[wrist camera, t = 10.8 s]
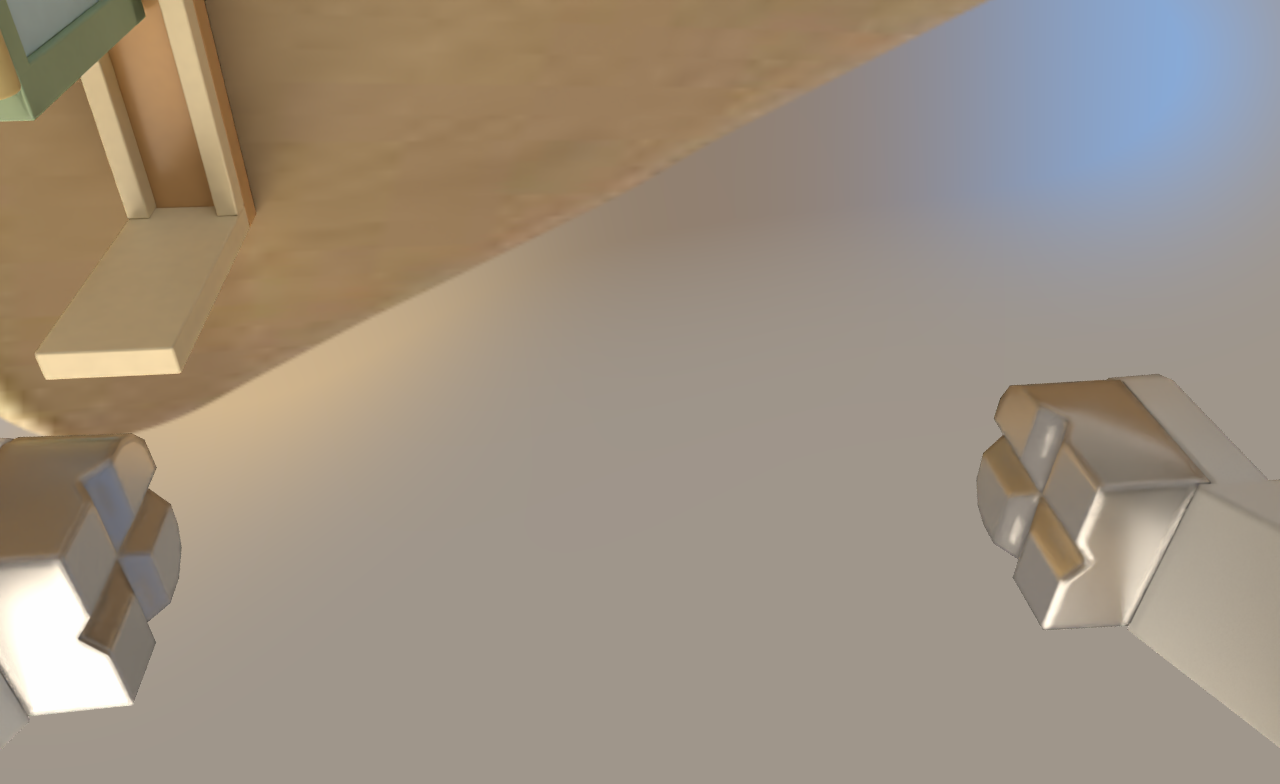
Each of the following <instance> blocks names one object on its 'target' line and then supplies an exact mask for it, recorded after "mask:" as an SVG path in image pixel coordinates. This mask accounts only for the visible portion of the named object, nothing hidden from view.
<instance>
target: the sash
mask: <svg viewBox="0 0 1280 784" xmlns="http://www.w3.org/2000/svg"><path fill="white" fill-rule="evenodd" d="M145 17H146V15H145V11H144V8H143V4H142V1H141V0H0V121H34V120H35V119H36V118H38V117H39V116H40V115H41V114H42V113H43V112H44V111H45V110H46V109H47V108H48V107H49V106H50V105H51V104H52V103H53V102H54V101H55V100H56V99H58V98H59V97H60V96H61V95H62V94H63V93H64V92H65V91H66V90H67V89H68V88H69V87H70V86H72V85H73V84H74V83H75V82H76V81H77V80H78V79H79V78H80V77H81V76H82V75H83V74H84V73H86V72H87V71H88V70H89V69H90V68H91V67H92V66H93V65H94V64H95V63H96V62H97V61H98V60H100V59H101V58H102V57H103V56H104V55H105V54H106V53H107V52H108V51H109V50H110V49H111V48H112V47H114V46H115V45H116V44H117V43H118V42H119V41H120V40H121V39H122V38H123V37H124V36H125V35H126V34H128V33H129V32H130V31H131V30H132V29H133V28H134V27H135V26H136V25H138V24H139V23H140V22H141V21H142V20H143V19H144V18H145Z"/></svg>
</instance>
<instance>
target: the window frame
mask: <svg viewBox="0 0 1280 784" xmlns="http://www.w3.org/2000/svg"><path fill="white" fill-rule="evenodd" d="M141 1H142V4H143V8H144V11H145V15H146V17H145V18H144V19H143V20H142V21H141V22H140V23H139V24H138V25H136V26H135V27H134V28H133V29H132V30H131V31H130V32H129V33H128V34H126V35H125V36H124V37H123V38H122V39H121V40H120V41H119V42H118V43H117V44H116V45H115V46H114V47H112V48H111V49H110V50H109V51H108V52H107V53H106V54H105V55H104V56H103V57H102V58H101V59H100V60H98V61H97V62H96V63H95V64H94V65H93V66H92V67H91V68H90V69H89V70H88V71H87V72H86V73H84V74H83V75H82V76H81V77H80V78H81V81H82V84H83V87H84V90H85V93H86V96H87V99H88V102H89V104H90V107H91V110H92V113H93V116H94V119H95V122H96V125H97V128H98V131H99V134H100V137H101V140H102V143H103V146H104V149H105V152H106V155H107V158H108V161H109V164H110V167H111V170H112V173H113V176H114V179H115V182H116V185H117V188H118V191H119V194H120V197H121V200H122V203H123V206H124V209H125V212H126V215H127V218H128V219H129V220H128V221H127V223H126V224H125V226H124V227H123V229H122V230H121V231H120V233H119V234H118V236H117V237H116V238H115V240H114V241H113V243H112V244H111V246H110V247H109V248H108V250H107V251H106V253H105V254H104V256H103V257H102V258H101V260H100V261H99V263H98V264H97V265H96V267H95V268H94V270H93V271H92V273H91V274H90V275H89V277H88V278H87V280H86V281H85V283H84V284H83V285H82V287H81V288H80V290H79V291H78V292H77V294H76V295H75V297H74V298H73V300H72V301H71V302H70V304H69V305H68V307H67V308H66V310H65V311H64V312H63V314H62V315H61V317H60V318H59V319H58V321H57V322H56V324H55V325H54V327H53V328H52V329H51V331H50V332H49V334H48V335H47V337H46V338H45V339H44V341H43V342H42V344H41V345H40V346H39V348H38V349H37V351H36V352H35V357H36V359H37V362H38V364H39V366H40V368H41V371H42V373H43V375H44V377H45V379H47V380H50V379H71V378H92V377H113V376H135V375H156V374H177V373H181V372H182V370H183V368H184V365H185V363H186V361H187V359H188V357H189V355H190V353H191V351H192V349H193V346H194V344H195V342H196V340H197V338H198V336H199V334H200V332H201V330H202V327H203V325H204V323H205V321H206V319H207V317H208V315H209V313H210V311H211V308H212V306H213V304H214V302H215V300H216V298H217V296H218V294H219V291H220V289H221V287H222V285H223V283H224V281H225V279H226V277H227V275H228V272H229V270H230V268H231V266H232V264H233V262H234V260H235V258H236V256H237V253H238V251H239V249H240V247H241V245H242V243H243V241H244V239H245V237H246V234H247V232H248V230H249V228H250V226H251V224H252V222H253V220H254V218H255V216H256V210H255V206H254V202H253V198H252V194H251V190H250V186H249V182H248V178H247V174H246V170H245V166H244V162H243V157H242V153H241V149H240V145H239V141H238V137H237V133H236V129H235V125H234V121H233V117H232V113H231V109H230V105H229V100H228V96H227V92H226V88H225V84H224V80H223V76H222V72H221V68H220V64H219V60H218V56H217V52H216V47H215V43H214V39H213V35H212V31H211V27H210V23H209V19H208V15H207V11H206V7H205V3H204V0H141Z"/></svg>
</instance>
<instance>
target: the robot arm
mask: <svg viewBox="0 0 1280 784" xmlns="http://www.w3.org/2000/svg"><path fill="white" fill-rule="evenodd" d="M994 420H995V422H996V423H997V425H998V427H999V428H1000V430H1001V432H1002V433H1003V436H1002V437H1000V438H999V439H998V440H997V441H996V442H995V443H994V444H993V445H992V446H991V447H990V448H988V449H987V450H986V451H985V452H984V453H983V456H982V460H981V464H980V468H979V472H978V476H977V499H978V507H979V511H980V514H981V517H982V521H983V524H984V526H985V528H986V530H987V532H988V534H989V536H990V537H991V539H992V541H993V543H994V544H995V545H997V546H998V547H1000V548H1002V549H1003V550H1005V551H1006V552H1008V553H1010V554H1011V555H1012V556H1014V557H1015V558H1017V559H1018V562H1017V565H1016V569H1015V572H1014V575H1013V579H1014V580H1015V582H1016V584H1017V586H1018V587H1019V589H1020V591H1021V593H1022V594H1023V596H1024V598H1025V600H1026V601H1027V603H1028V605H1029V606H1030V608H1031V610H1032V612H1033V614H1034V615H1035V617H1036V619H1037V621H1038V622H1039V624H1040V626H1041V627H1042V629H1043V630H1057V629H1074V628H1093V627H1112V626H1129V627H1128V631H1130V632H1131V633H1132V634H1134V635H1135V636H1136V637H1137V638H1139V639H1140V640H1141V641H1143V642H1144V643H1145V644H1147V645H1148V646H1149V647H1150V648H1152V649H1153V650H1154V651H1156V652H1157V653H1158V654H1159V655H1161V656H1162V657H1163V658H1165V659H1166V660H1167V661H1168V662H1170V663H1171V664H1172V665H1174V666H1175V667H1176V668H1177V669H1179V670H1180V671H1181V672H1183V673H1184V674H1185V675H1187V676H1188V677H1189V678H1190V679H1192V680H1193V681H1194V682H1196V683H1197V684H1198V685H1199V686H1201V687H1202V688H1203V689H1205V690H1206V691H1207V692H1208V693H1210V694H1211V695H1212V696H1214V697H1215V698H1216V699H1218V700H1219V701H1220V702H1221V703H1223V704H1224V705H1225V706H1227V707H1228V708H1230V710H1232V711H1233V712H1234V713H1236V714H1237V715H1238V716H1239V717H1241V718H1242V719H1244V720H1245V721H1246V722H1247V723H1248V724H1250V725H1251V726H1252V727H1254V728H1255V729H1256V730H1258V731H1259V732H1260V733H1261V734H1263V735H1264V736H1265V737H1267V738H1268V739H1269V740H1271V741H1272V742H1273V743H1274V744H1276V745H1277V746H1278V747H1280V480H1268V479H1267V478H1266V477H1265V476H1264V475H1263V473H1262V472H1261V471H1260V470H1259V469H1258V468H1257V467H1256V466H1255V465H1254V464H1253V463H1252V462H1251V461H1250V460H1249V459H1248V458H1247V457H1246V456H1245V455H1244V454H1243V453H1242V452H1241V451H1240V450H1239V448H1238V447H1237V446H1236V445H1235V444H1234V443H1233V442H1232V441H1231V440H1230V439H1229V438H1228V437H1227V436H1226V435H1225V434H1224V433H1223V432H1222V431H1221V430H1220V429H1219V428H1218V427H1217V426H1216V425H1215V423H1214V422H1213V421H1212V420H1210V418H1209V417H1208V416H1207V415H1206V414H1205V413H1204V412H1203V411H1202V410H1201V409H1200V408H1199V407H1198V406H1197V405H1196V404H1195V403H1194V402H1193V401H1192V399H1191V398H1190V397H1189V396H1188V395H1187V394H1186V393H1185V392H1184V391H1183V390H1182V389H1181V388H1180V387H1179V386H1178V385H1177V384H1176V383H1175V382H1174V381H1173V380H1171V379H1169V378H1166V377H1164V376H1162V375H1159V374H1151V375H1140V376H1127V377H1115V378H1108V379H1107V380H1094V381H1077V382H1061V383H1044V384H1027V385H1011V386H1009V388H1008V389H1007V390H1006V392H1005V393H1004V394H1003V395H1002V397H1001V398H1000V401H999V404H998V407H997V410H996V413H995V416H994ZM156 468H157V467H156V465H155V463H154V460H153V458H152V456H151V454H150V451H149V449H148V447H147V445H146V442H145V440H144V439H142V438H140V437H138V436H136V435H134V434H132V433H128V434H99V435H70V436H41V437H18V438H16V439H11V438H0V750H1V749H2V748H3V747H4V746H5V745H6V744H7V743H8V742H9V741H10V740H11V739H12V738H13V737H14V736H15V735H16V734H17V733H18V732H19V731H20V730H21V729H22V728H23V727H24V726H25V725H26V724H27V723H29V718H28V716H34V715H43V714H52V713H60V712H70V711H80V710H88V709H99V708H108V707H117V706H126V705H133V703H134V700H135V697H136V695H137V692H138V689H139V687H140V684H141V681H142V679H143V676H144V673H145V671H146V668H147V665H148V662H149V660H150V657H151V655H152V652H153V649H154V646H155V644H156V641H155V639H154V637H153V635H152V632H151V630H150V628H149V625H148V623H147V622H148V621H150V620H151V619H152V618H153V617H154V616H155V615H156V614H158V613H159V612H160V611H161V610H163V609H164V608H165V607H166V606H167V605H168V604H170V602H171V600H172V597H173V594H174V591H175V588H176V585H177V582H178V579H179V571H180V559H181V542H180V535H179V528H178V523H177V520H176V518H175V515H174V512H173V509H172V507H171V504H170V503H168V502H167V501H165V500H164V499H163V498H161V497H160V496H158V495H157V494H156V493H154V492H153V491H151V490H150V489H148V487H149V484H150V482H151V480H152V477H153V475H154V473H155V470H156Z"/></svg>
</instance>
